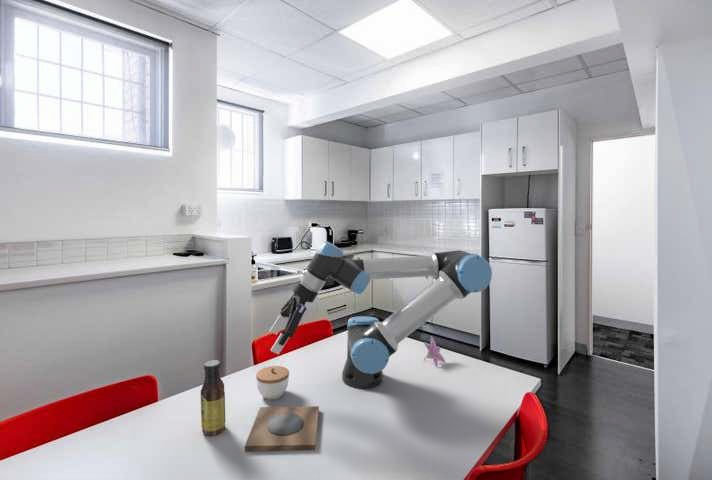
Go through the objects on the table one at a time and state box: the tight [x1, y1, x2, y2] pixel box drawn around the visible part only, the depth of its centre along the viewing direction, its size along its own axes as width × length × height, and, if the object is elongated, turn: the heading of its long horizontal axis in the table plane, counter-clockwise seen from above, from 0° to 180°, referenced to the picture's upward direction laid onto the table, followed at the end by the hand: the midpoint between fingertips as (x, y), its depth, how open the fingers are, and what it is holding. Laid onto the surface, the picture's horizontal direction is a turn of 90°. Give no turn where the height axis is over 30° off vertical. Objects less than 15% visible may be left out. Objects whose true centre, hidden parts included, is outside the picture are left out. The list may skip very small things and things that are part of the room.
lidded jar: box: [255, 365, 290, 401], centre depth 118 cm, size 11×11×9 cm
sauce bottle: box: [200, 359, 226, 436], centre depth 98 cm, size 7×6×20 cm
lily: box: [423, 335, 447, 368], centre depth 146 cm, size 12×12×10 cm
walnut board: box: [244, 405, 320, 452], centre depth 100 cm, size 18×18×2 cm
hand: (273, 342), depth 113 cm, fingers open, 13 cm apart
